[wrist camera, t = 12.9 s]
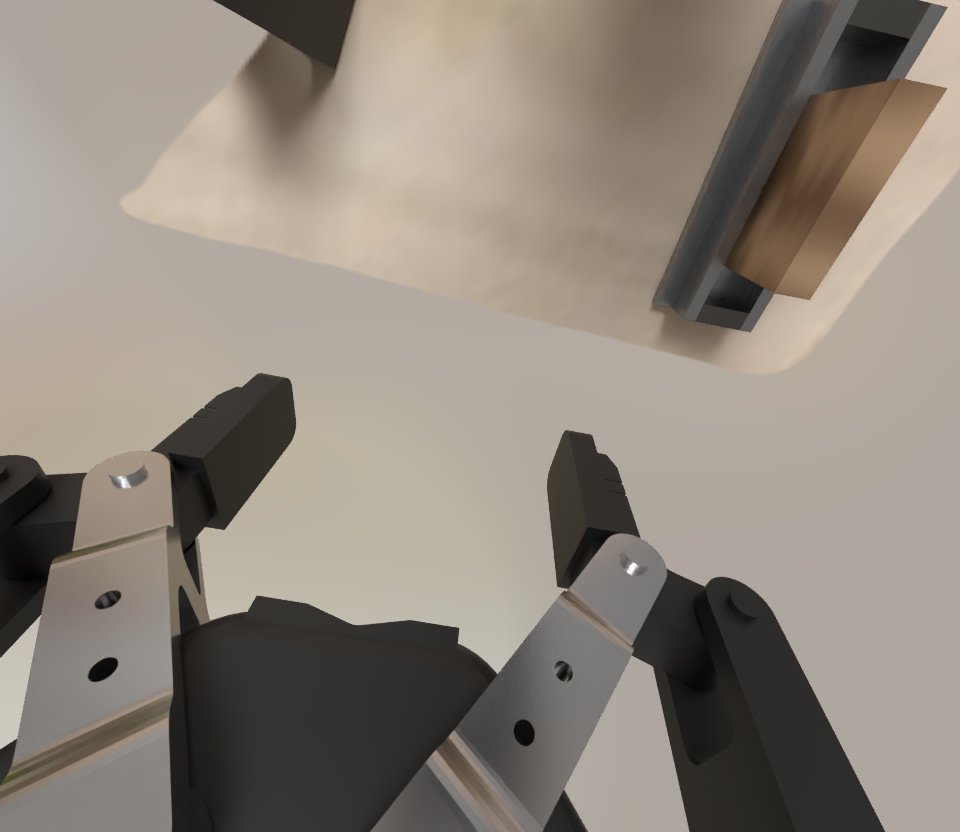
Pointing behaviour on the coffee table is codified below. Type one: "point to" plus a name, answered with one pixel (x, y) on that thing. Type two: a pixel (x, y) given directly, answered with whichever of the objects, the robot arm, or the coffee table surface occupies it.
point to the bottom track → (782, 136)
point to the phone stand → (300, 22)
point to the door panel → (828, 181)
